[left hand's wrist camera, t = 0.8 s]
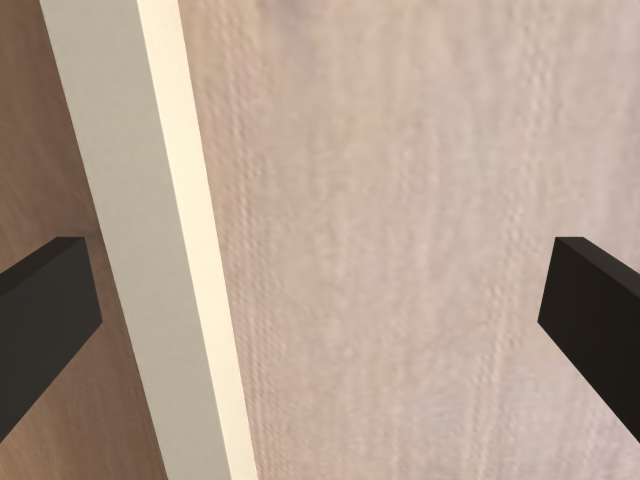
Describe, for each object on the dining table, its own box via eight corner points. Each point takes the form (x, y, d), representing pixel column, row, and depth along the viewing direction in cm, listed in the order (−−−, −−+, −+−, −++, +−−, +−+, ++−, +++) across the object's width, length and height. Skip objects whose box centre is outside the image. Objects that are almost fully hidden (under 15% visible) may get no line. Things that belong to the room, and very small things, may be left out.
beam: (67, -152, 26) (-24, -233, 19) (150, -159, 26) (89, -243, 19) (240, 622, 54) (228, 705, 46) (281, 620, 53) (276, 703, 46)
